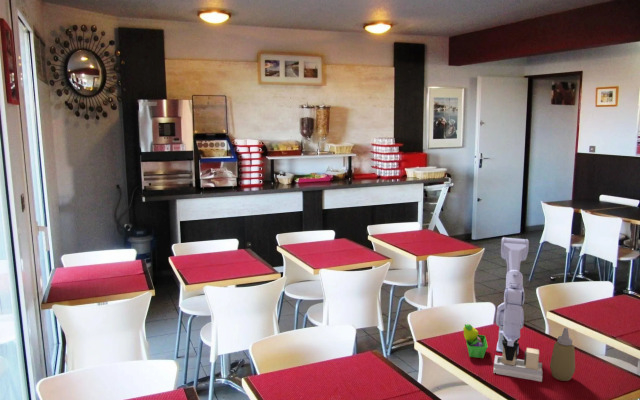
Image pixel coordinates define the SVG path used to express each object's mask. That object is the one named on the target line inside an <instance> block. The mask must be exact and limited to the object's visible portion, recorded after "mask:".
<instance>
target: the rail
mask: <svg viewBox="0 0 640 400" xmlns="http://www.w3.org/2000/svg"><path fill="white" fill-rule="evenodd" d="M539 357H540V349H538V348H531V347H526V350H525V351H524V358H523V359H520V358H517V360H516V359H515V365H509V364H504V363H502V355H496V354H495V355H494V359H493V360H494V361H493V371H492V373H493V374H495V373H496V374H497V375H500V376H501V375H502V376H508V377H512V378H518V379H524V380H531V381H535V382H539V383H540V382H541V383H542V382H543V362H539V359H540V358H539Z"/></svg>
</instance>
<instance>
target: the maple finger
mask: <svg viewBox="0 0 640 400" xmlns="http://www.w3.org/2000/svg"><path fill="white" fill-rule="evenodd" d="M514 343H517V342H514ZM517 352H518V353H519V349H518V348H517V349H516V351H515V354H514V358H513V361H509V360H506V356H505V349H504V346H503V352H502V355H501V356H502V363H504V364H509V365H515V359H516V360H517V359H518V355H517Z"/></svg>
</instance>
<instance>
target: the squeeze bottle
mask: <svg viewBox="0 0 640 400" xmlns="http://www.w3.org/2000/svg"><path fill="white" fill-rule="evenodd" d="M575 348H576V347H575V346H574V345H573V339H572V338H571V337H570V335H569V328H567V327H564V328H563V330H562V334H561V335H559V336H558V337H557V341H556V342H555V343H554V345H553V349H552V354H551V359H550V365H549V367H550V372H551V374H552V377H553V378H555V380H558V381H563V382H568V381H570V380H571V379H572V378H573V375H574V373H575V371H576V352H575V350H576V349H575Z"/></svg>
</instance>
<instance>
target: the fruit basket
mask: <svg viewBox="0 0 640 400" xmlns="http://www.w3.org/2000/svg"><path fill="white" fill-rule="evenodd" d="M462 329H463V336H464V337H463V338H464V339H465V341H466V346H467V347H466V348H467V352H468V357H469V358H480V359H484V357H485V354H486V351H487V349H488V347H489V346H488V341H487V338H486V335H483V334H479V331H478V330H477V329H476V328H475V327H474V326H473V325H472V324H469V323H468V324H464V326H463V327H462Z"/></svg>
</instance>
